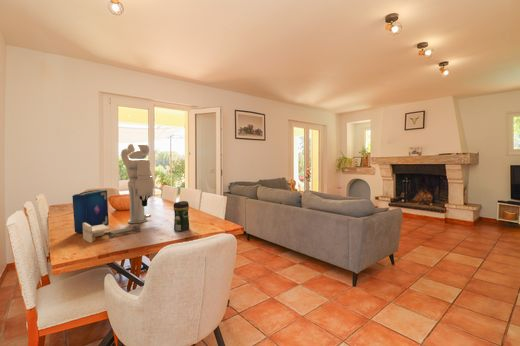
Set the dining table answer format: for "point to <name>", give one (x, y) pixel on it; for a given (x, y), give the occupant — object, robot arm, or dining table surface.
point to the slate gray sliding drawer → (124, 230)
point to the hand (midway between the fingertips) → (144, 206)
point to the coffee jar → (181, 216)
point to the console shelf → (93, 231)
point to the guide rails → (122, 233)
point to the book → (90, 209)
